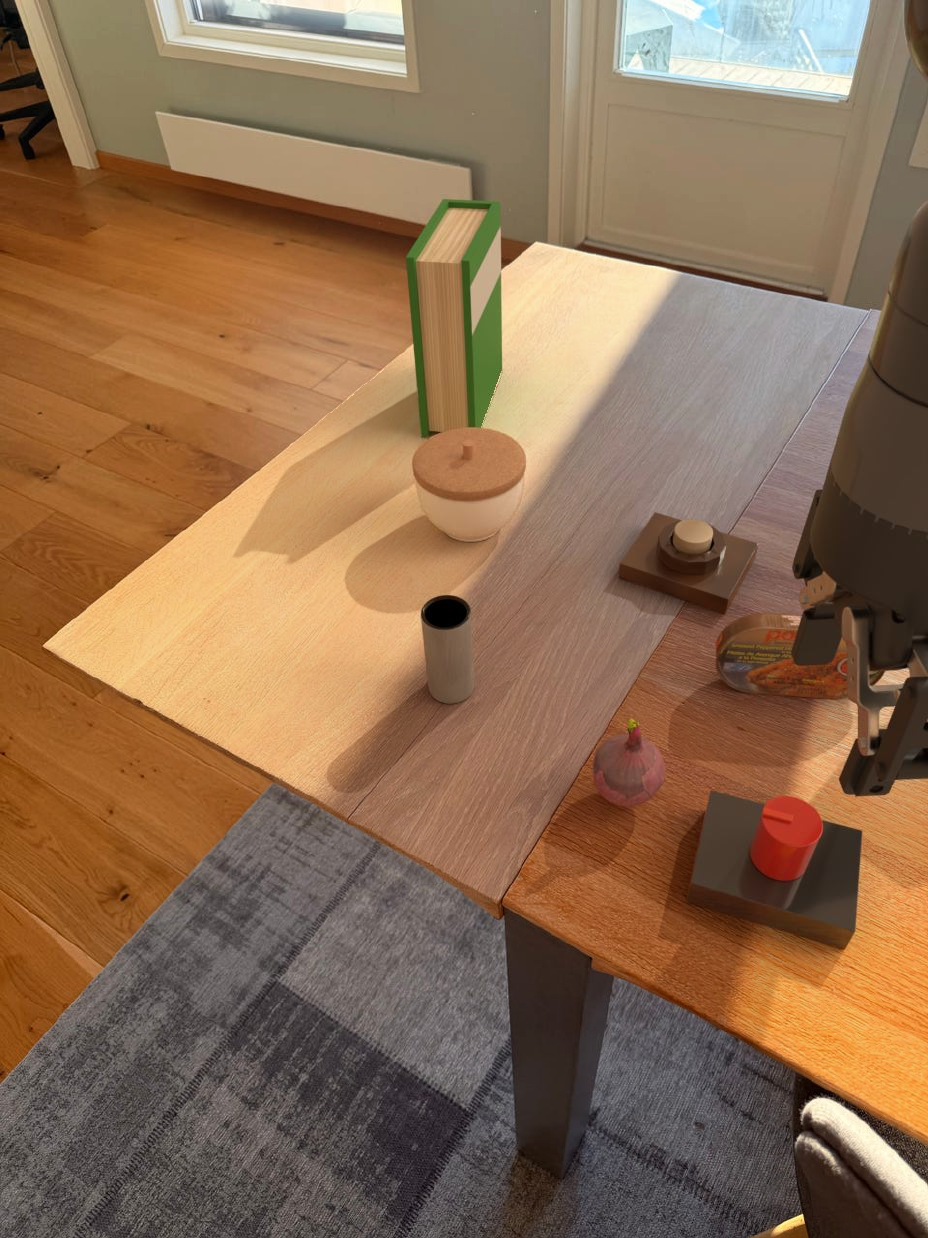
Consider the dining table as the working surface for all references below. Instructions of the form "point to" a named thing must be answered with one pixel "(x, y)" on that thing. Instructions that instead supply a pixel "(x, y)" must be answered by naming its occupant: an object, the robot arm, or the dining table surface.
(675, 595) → the button housing
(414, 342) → the hardback book
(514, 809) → the dining table surface
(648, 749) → the vegetable
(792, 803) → the dial knob
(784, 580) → the dining table surface
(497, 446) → the lidded bowl
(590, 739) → the dining table surface
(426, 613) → the planter
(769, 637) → the tin
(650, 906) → the dining table surface
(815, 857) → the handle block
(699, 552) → the button
